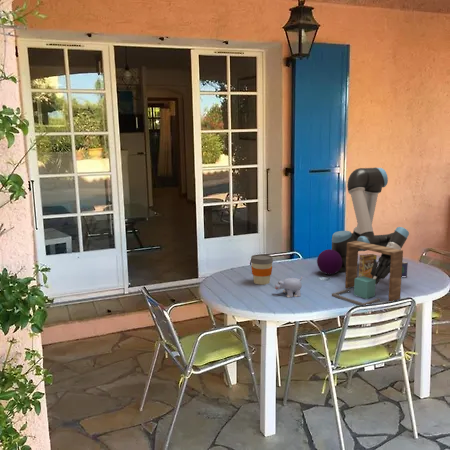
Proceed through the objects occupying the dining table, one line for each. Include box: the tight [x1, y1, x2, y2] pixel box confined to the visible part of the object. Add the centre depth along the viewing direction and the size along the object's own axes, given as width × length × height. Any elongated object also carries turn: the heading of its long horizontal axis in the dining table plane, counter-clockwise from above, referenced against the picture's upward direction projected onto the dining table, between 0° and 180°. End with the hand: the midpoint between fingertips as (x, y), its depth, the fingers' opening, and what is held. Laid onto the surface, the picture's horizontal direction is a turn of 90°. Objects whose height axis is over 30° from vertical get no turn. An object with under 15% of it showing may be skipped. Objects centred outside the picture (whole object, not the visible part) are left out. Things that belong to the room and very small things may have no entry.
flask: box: [402, 261, 409, 277], centre depth 289 cm, size 9×3×11 cm, turn 87°
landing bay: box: [331, 288, 381, 306], centre depth 254 cm, size 20×13×1 cm, turn 37°
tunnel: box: [344, 241, 404, 302], centre depth 260 cm, size 29×8×26 cm, turn 37°
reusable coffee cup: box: [250, 253, 274, 286], centre depth 281 cm, size 13×13×15 cm
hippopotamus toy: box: [274, 275, 304, 298], centre depth 261 cm, size 11×15×10 cm
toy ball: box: [316, 248, 342, 275], centre depth 296 cm, size 15×15×15 cm
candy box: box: [358, 253, 378, 278], centre depth 282 cm, size 9×4×15 cm, turn 107°
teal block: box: [353, 276, 377, 300], centre depth 257 cm, size 8×7×9 cm
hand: (370, 287), depth 260 cm, fingers closed
